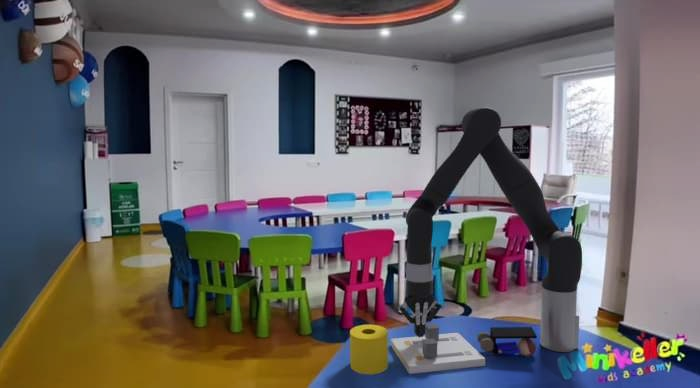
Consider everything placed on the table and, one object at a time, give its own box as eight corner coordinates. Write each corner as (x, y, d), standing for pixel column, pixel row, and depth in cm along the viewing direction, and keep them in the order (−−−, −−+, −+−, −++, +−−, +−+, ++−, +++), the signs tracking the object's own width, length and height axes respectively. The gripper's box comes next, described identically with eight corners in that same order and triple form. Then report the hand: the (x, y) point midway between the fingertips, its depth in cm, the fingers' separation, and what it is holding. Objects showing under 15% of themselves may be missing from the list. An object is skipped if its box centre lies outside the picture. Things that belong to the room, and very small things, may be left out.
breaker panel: (457, 339, 144) (457, 332, 143) (485, 365, 126) (485, 358, 126) (390, 345, 140) (390, 338, 140) (409, 373, 122) (409, 366, 122)
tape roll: (391, 359, 131) (391, 326, 130) (382, 376, 121) (382, 340, 120) (356, 355, 134) (356, 323, 133) (345, 371, 124) (345, 336, 123)
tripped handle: (435, 336, 140) (435, 323, 139) (439, 340, 136) (439, 327, 136) (424, 337, 139) (424, 324, 139) (428, 341, 136) (428, 328, 136)
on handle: (433, 352, 129) (433, 338, 129) (437, 357, 126) (437, 343, 126) (422, 353, 128) (422, 339, 128) (426, 358, 125) (426, 344, 125)
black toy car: (482, 364, 130) (539, 360, 128) (479, 337, 130) (537, 333, 128) (478, 353, 137) (533, 349, 135) (476, 328, 136) (530, 323, 134)
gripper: (436, 272, 140) (436, 329, 142) (393, 275, 138) (394, 333, 139) (446, 279, 133) (446, 339, 134) (400, 282, 130) (401, 343, 132)
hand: (419, 336), depth 137 cm, fingers closed
